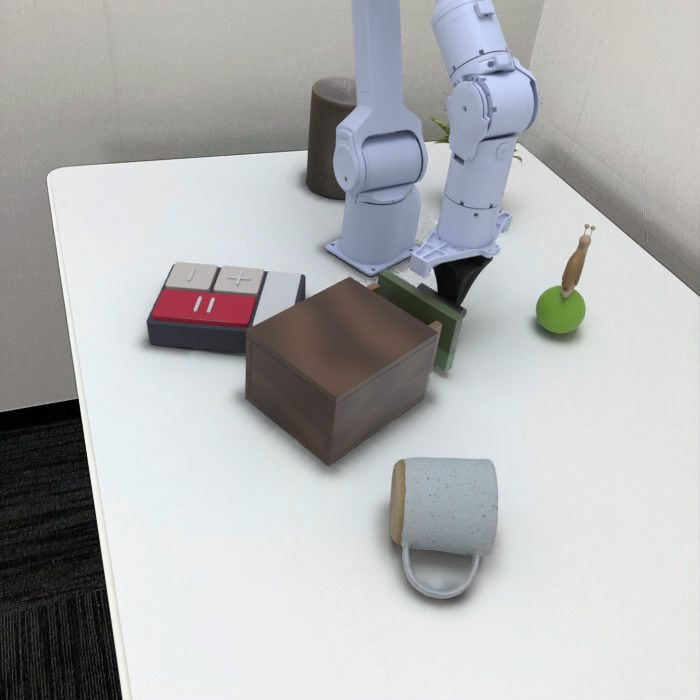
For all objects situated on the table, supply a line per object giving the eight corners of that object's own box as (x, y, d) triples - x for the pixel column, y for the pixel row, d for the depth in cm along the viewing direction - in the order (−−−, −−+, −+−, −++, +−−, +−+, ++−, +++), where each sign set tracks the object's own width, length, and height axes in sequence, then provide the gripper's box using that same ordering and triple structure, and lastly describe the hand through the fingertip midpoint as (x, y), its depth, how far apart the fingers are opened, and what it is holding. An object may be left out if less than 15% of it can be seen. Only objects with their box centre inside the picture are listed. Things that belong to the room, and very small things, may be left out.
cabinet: (342, 341, 83) (349, 276, 78) (424, 398, 78) (438, 332, 72) (244, 398, 75) (245, 329, 70) (328, 466, 70) (336, 397, 64)
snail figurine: (583, 319, 91) (616, 231, 83) (572, 349, 86) (605, 259, 79) (539, 304, 92) (566, 216, 85) (525, 333, 88) (553, 243, 80)
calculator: (172, 256, 86) (306, 268, 86) (176, 288, 89) (306, 299, 88) (144, 316, 78) (292, 329, 77) (149, 349, 80) (292, 361, 80)
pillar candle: (300, 194, 107) (306, 88, 97) (311, 163, 115) (318, 62, 105) (369, 204, 107) (382, 99, 97) (376, 172, 114) (389, 71, 105)
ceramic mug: (385, 492, 68) (396, 433, 63) (477, 499, 68) (496, 441, 63) (386, 601, 60) (399, 543, 55) (491, 608, 60) (513, 551, 55)
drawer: (403, 305, 88) (412, 254, 84) (476, 350, 83) (489, 299, 79) (295, 367, 78) (299, 314, 74) (370, 423, 73) (379, 370, 69)
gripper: (460, 236, 70) (435, 351, 78) (547, 189, 78) (516, 297, 87) (401, 204, 73) (384, 317, 82) (490, 162, 82) (466, 269, 90)
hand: (448, 305), depth 85 cm, fingers closed
